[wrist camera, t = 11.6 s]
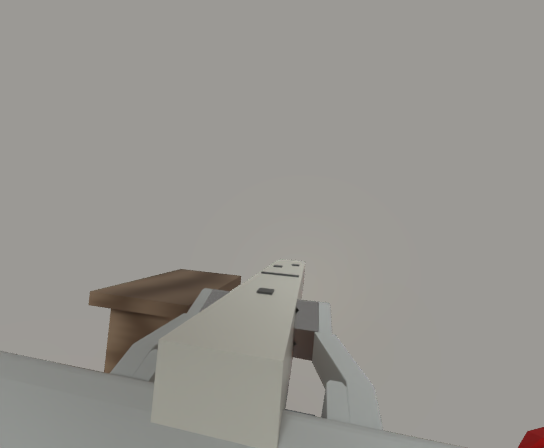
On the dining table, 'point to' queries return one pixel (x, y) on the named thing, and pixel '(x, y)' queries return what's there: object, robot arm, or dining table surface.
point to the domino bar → (232, 361)
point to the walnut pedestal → (151, 305)
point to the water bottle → (533, 439)
